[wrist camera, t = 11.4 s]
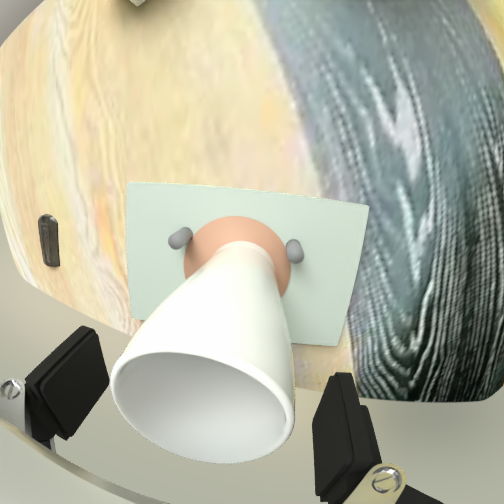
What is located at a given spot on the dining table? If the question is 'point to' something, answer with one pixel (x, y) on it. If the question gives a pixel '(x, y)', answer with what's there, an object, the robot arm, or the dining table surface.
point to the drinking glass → (213, 364)
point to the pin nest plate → (252, 230)
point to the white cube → (137, 2)
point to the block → (49, 239)
